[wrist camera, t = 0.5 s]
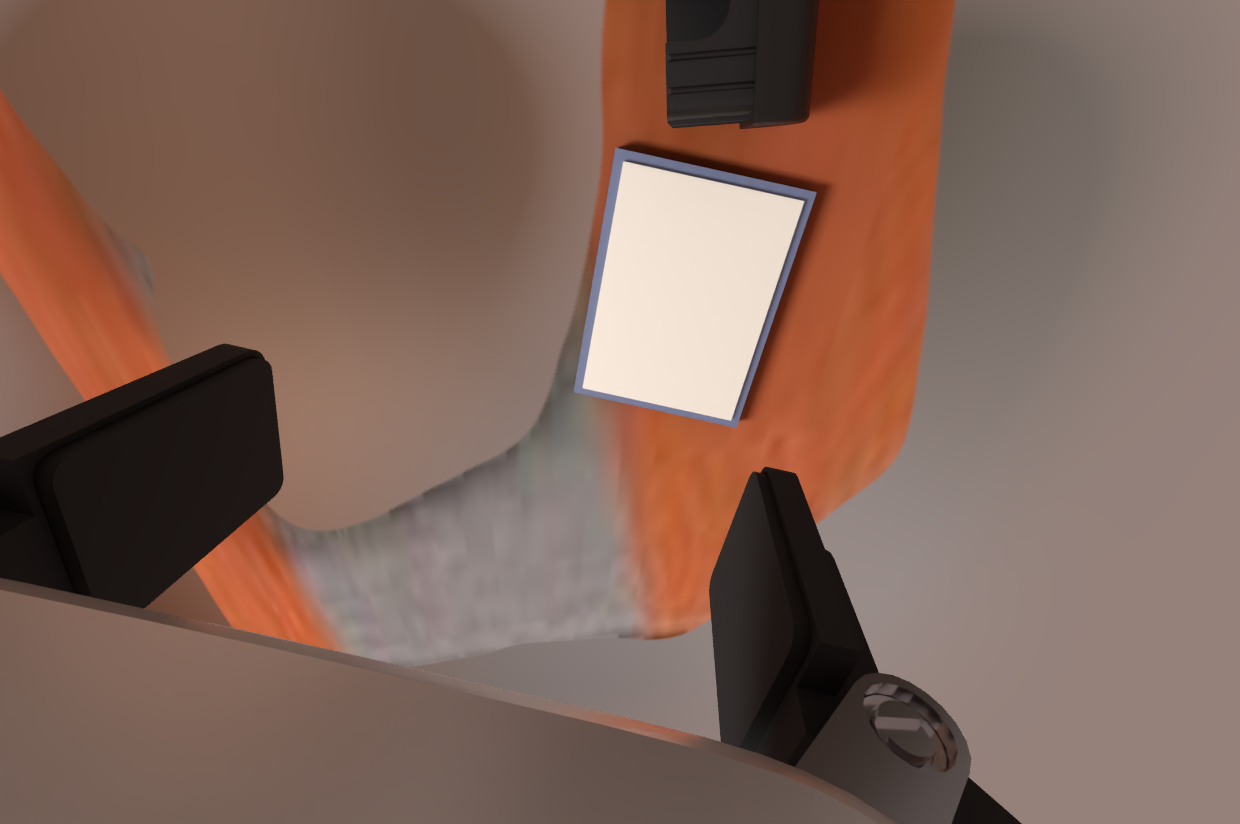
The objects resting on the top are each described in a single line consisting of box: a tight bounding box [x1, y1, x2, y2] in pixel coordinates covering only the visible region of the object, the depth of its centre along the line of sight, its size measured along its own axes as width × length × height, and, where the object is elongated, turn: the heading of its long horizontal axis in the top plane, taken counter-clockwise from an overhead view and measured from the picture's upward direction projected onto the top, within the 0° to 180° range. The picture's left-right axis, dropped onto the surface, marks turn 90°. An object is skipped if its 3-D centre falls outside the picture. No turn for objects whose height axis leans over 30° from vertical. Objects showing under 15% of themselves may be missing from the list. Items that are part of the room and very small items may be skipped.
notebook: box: [574, 148, 817, 428], centre depth 34 cm, size 16×12×1 cm
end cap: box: [666, 0, 819, 129], centre depth 25 cm, size 10×7×7 cm
